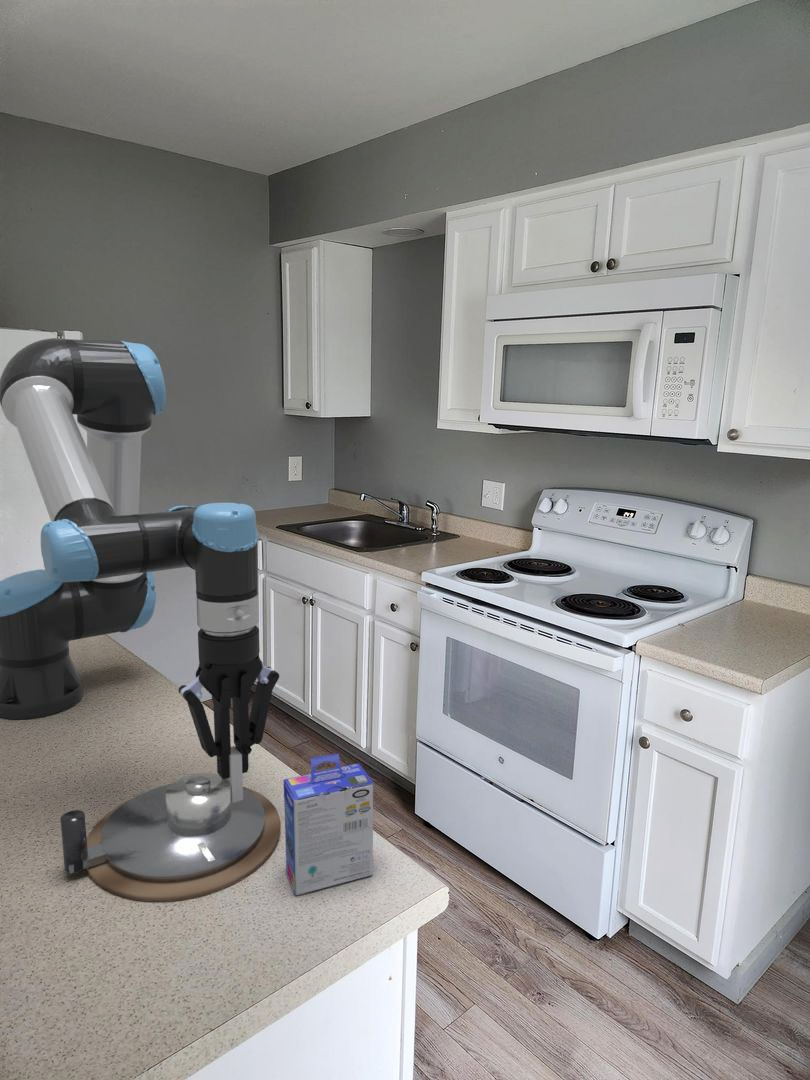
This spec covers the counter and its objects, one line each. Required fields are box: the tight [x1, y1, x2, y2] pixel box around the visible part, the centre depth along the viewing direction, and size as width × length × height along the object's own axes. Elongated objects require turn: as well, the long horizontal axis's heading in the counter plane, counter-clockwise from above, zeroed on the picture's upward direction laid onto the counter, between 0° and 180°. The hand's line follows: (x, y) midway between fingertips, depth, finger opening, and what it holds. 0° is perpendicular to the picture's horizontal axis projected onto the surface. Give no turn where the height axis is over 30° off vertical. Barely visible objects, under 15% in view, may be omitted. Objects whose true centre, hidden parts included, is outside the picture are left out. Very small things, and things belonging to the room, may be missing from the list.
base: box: [85, 786, 281, 903], centre depth 94 cm, size 24×24×1 cm
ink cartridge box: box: [283, 753, 375, 896], centre depth 86 cm, size 10×6×14 cm, turn 114°
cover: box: [166, 772, 231, 836], centre depth 94 cm, size 8×8×5 cm
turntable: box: [60, 783, 265, 882], centre depth 92 cm, size 20×24×6 cm
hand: (233, 796), depth 97 cm, fingers closed
